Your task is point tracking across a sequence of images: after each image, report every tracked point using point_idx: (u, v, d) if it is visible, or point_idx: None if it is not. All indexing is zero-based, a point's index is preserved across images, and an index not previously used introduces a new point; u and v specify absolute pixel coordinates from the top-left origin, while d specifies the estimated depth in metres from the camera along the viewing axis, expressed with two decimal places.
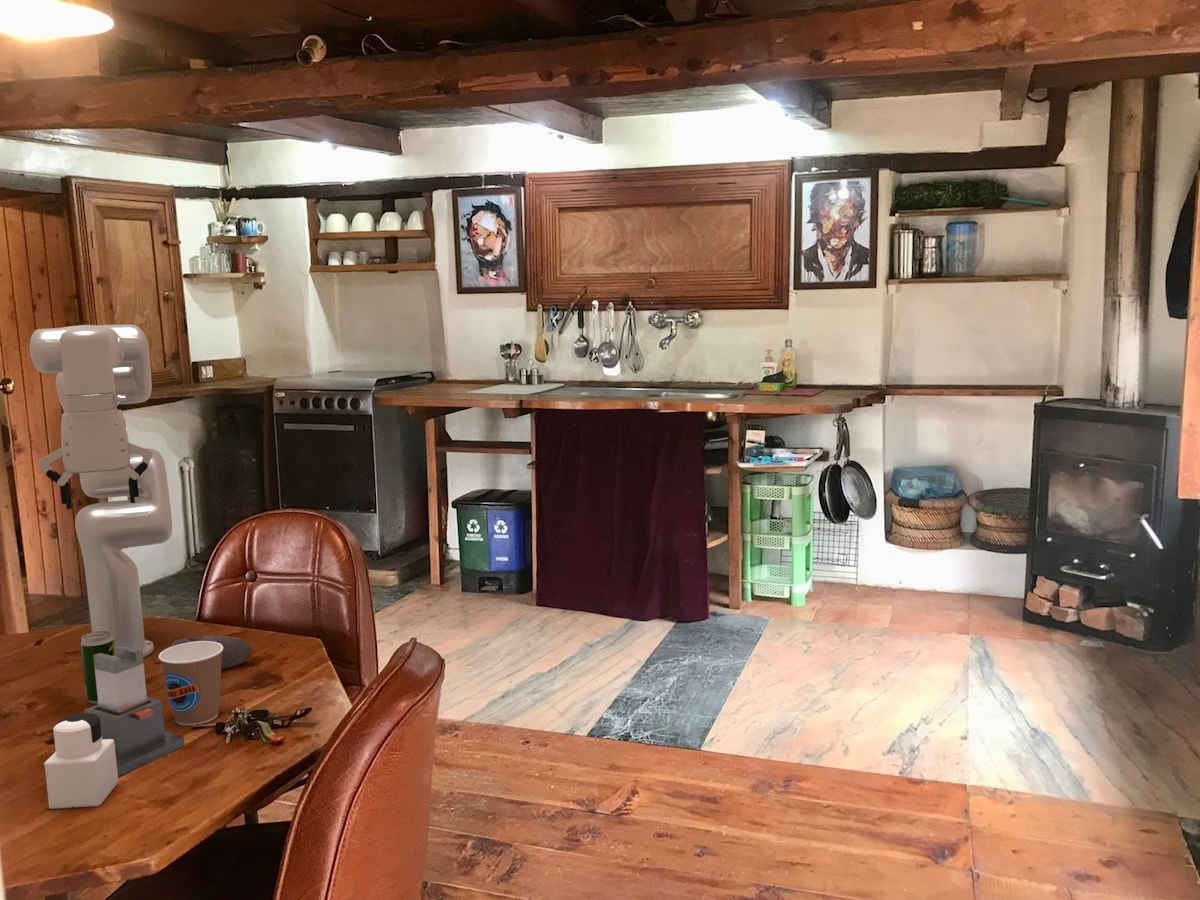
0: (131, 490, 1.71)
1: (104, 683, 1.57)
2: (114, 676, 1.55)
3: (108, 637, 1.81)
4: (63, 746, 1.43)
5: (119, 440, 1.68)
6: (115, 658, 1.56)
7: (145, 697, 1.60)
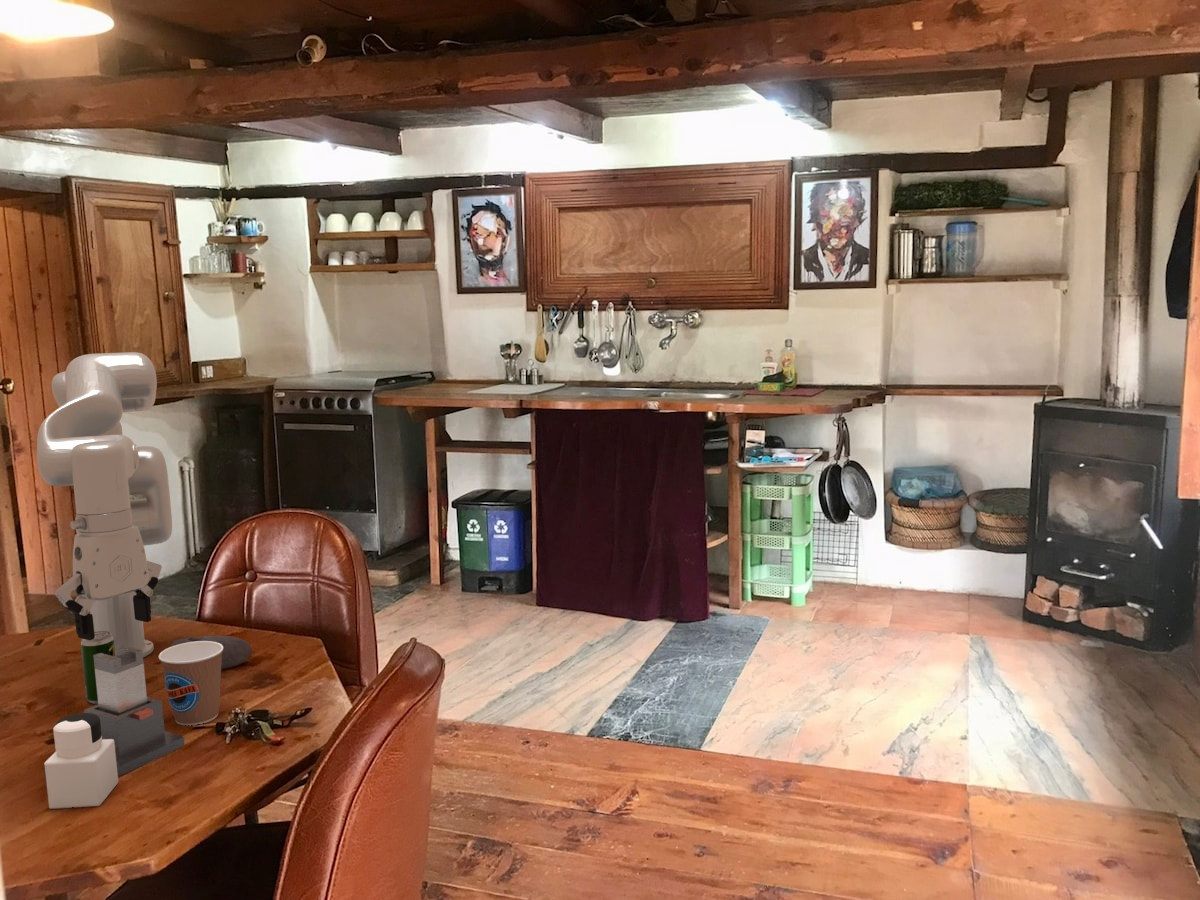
0: None
1: (104, 683, 1.57)
2: (114, 676, 1.55)
3: (108, 637, 1.81)
4: (63, 746, 1.43)
5: None
6: (115, 658, 1.56)
7: (145, 697, 1.60)
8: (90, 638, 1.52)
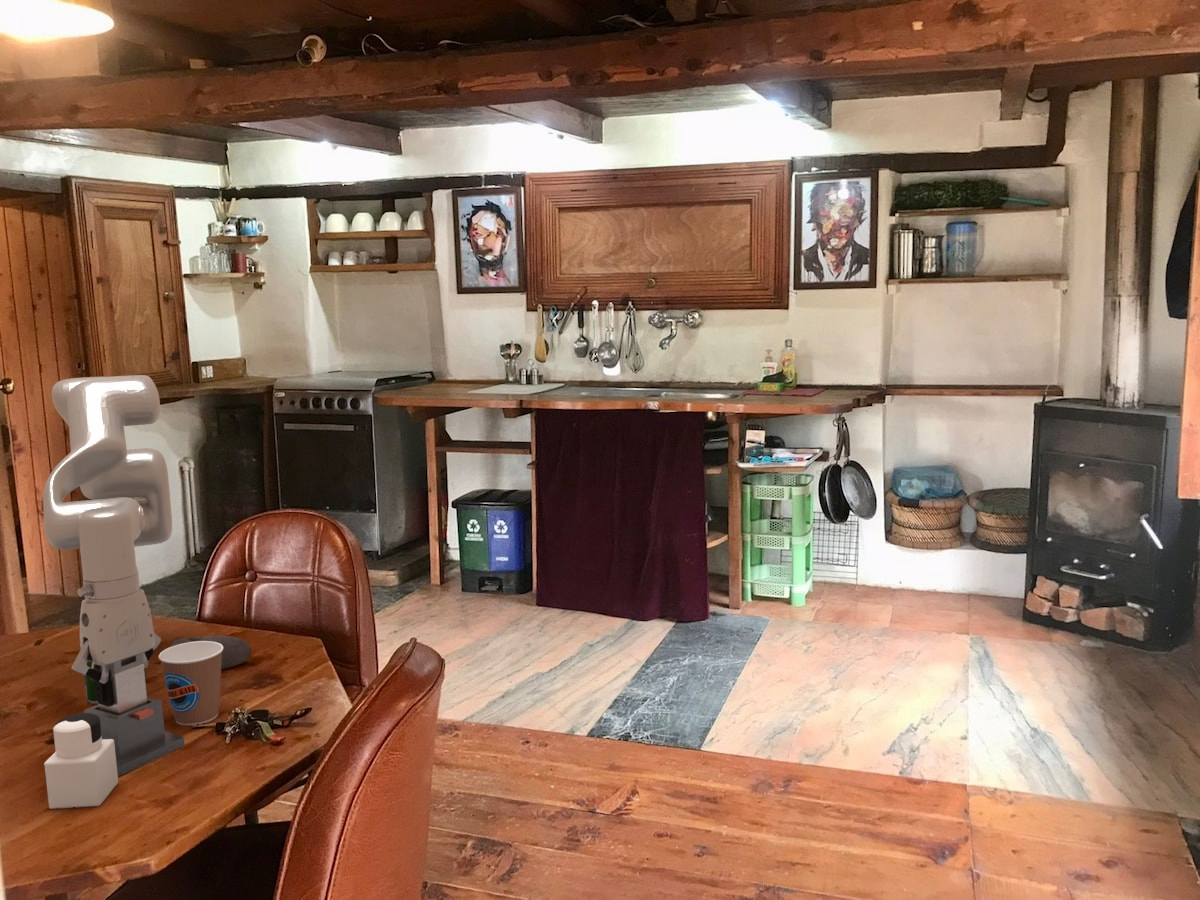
0: None
1: None
2: (114, 676, 1.55)
3: None
4: (63, 746, 1.43)
5: None
6: None
7: (145, 697, 1.60)
8: (109, 705, 1.56)
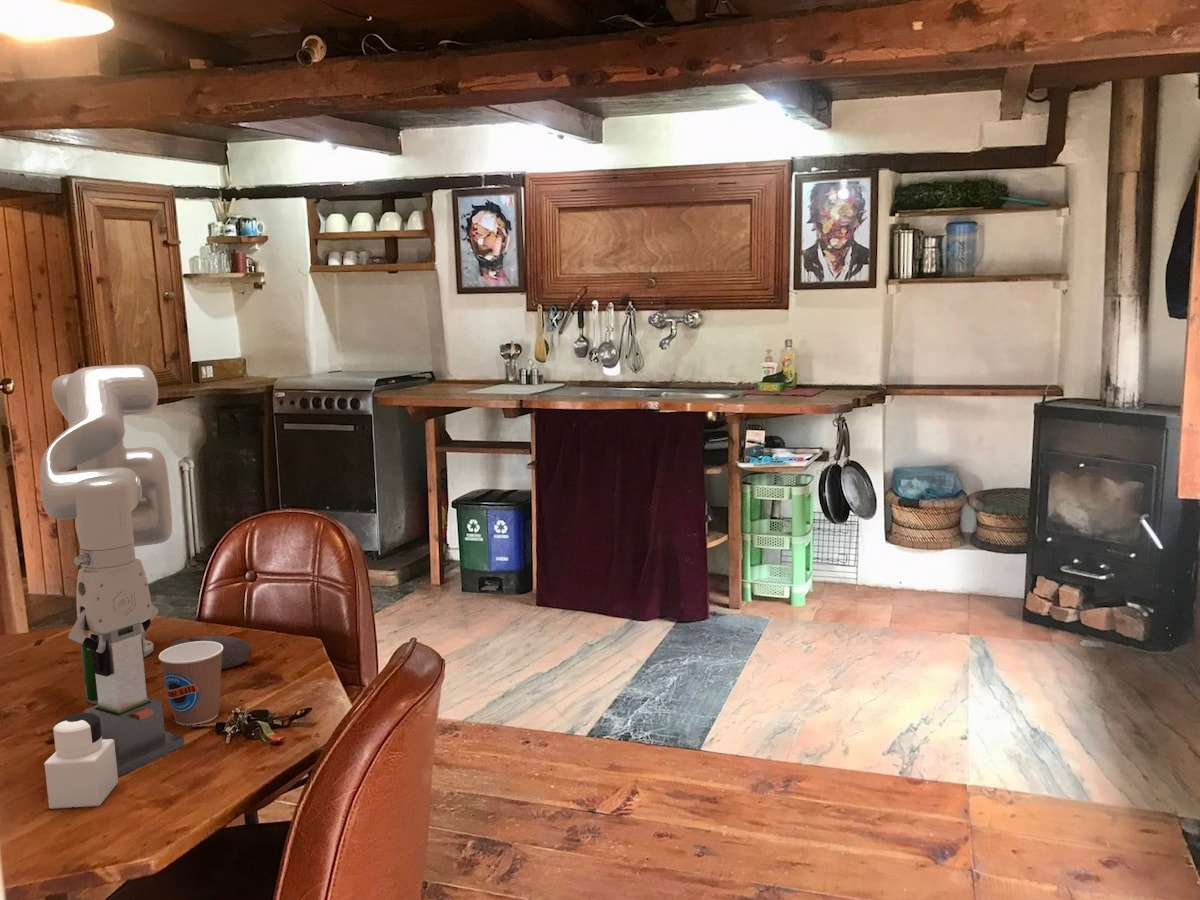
0: None
1: None
2: (111, 645, 1.55)
3: None
4: (63, 746, 1.43)
5: None
6: None
7: (143, 668, 1.60)
8: (106, 674, 1.55)
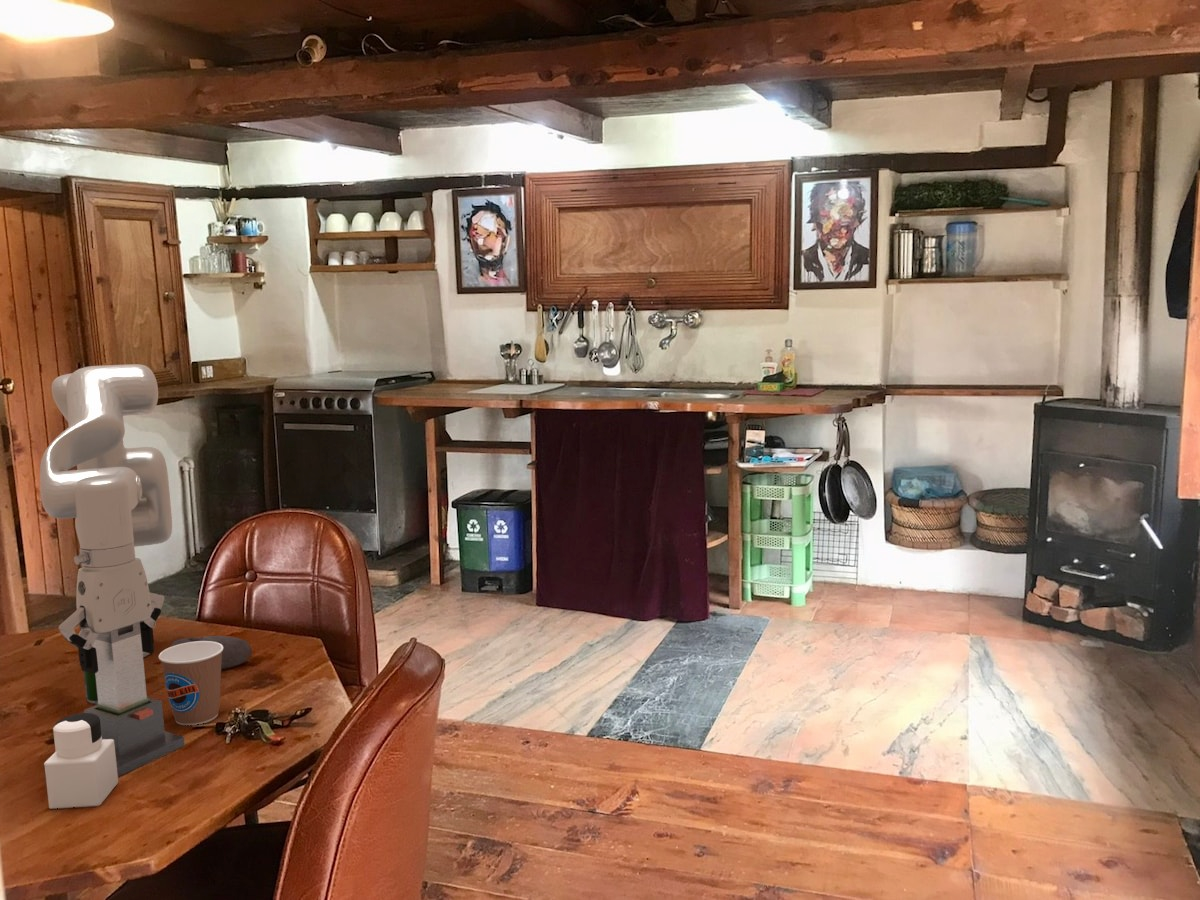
0: None
1: (101, 652, 1.56)
2: (111, 645, 1.55)
3: None
4: (63, 746, 1.43)
5: None
6: None
7: (143, 667, 1.60)
8: (94, 671, 1.53)
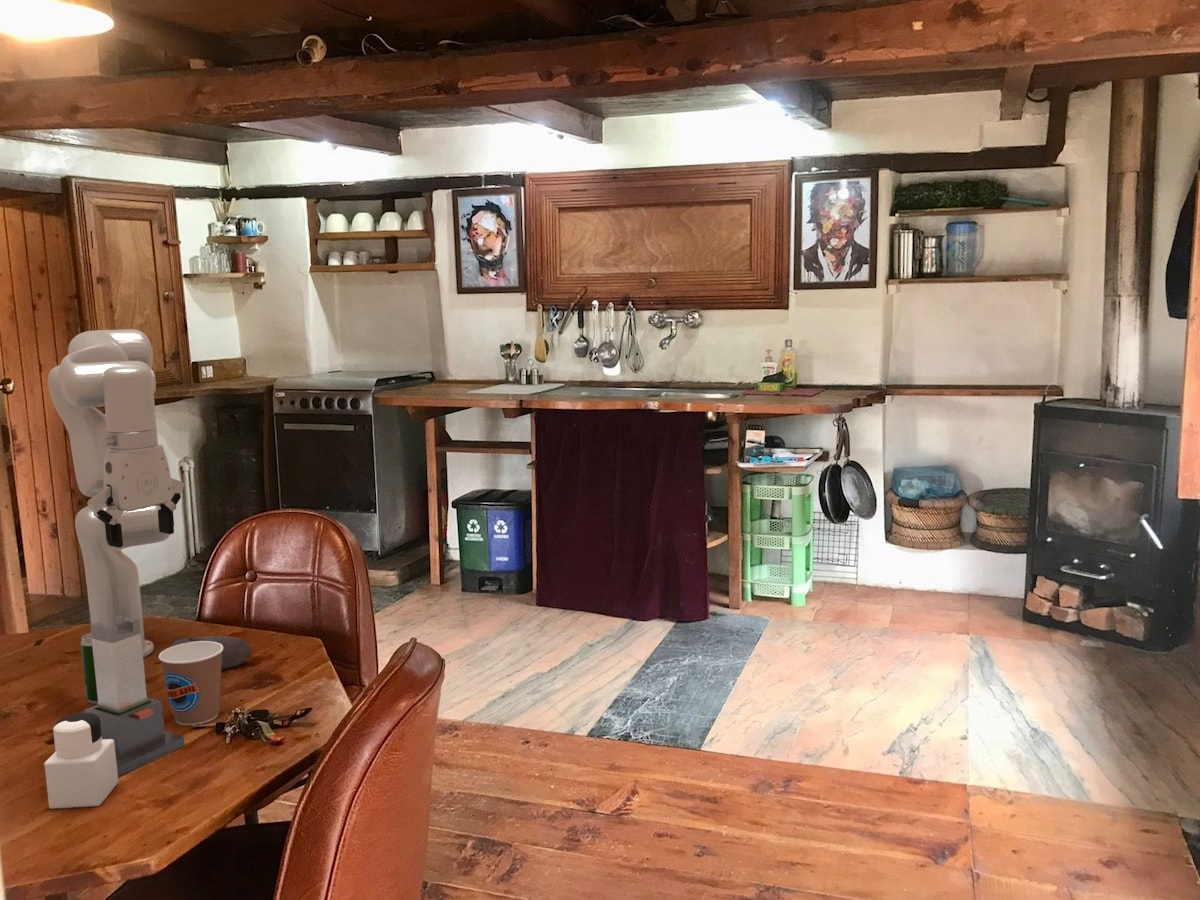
0: None
1: (101, 652, 1.56)
2: (111, 645, 1.55)
3: None
4: (63, 746, 1.43)
5: None
6: (112, 627, 1.55)
7: (143, 667, 1.60)
8: (119, 545, 1.66)
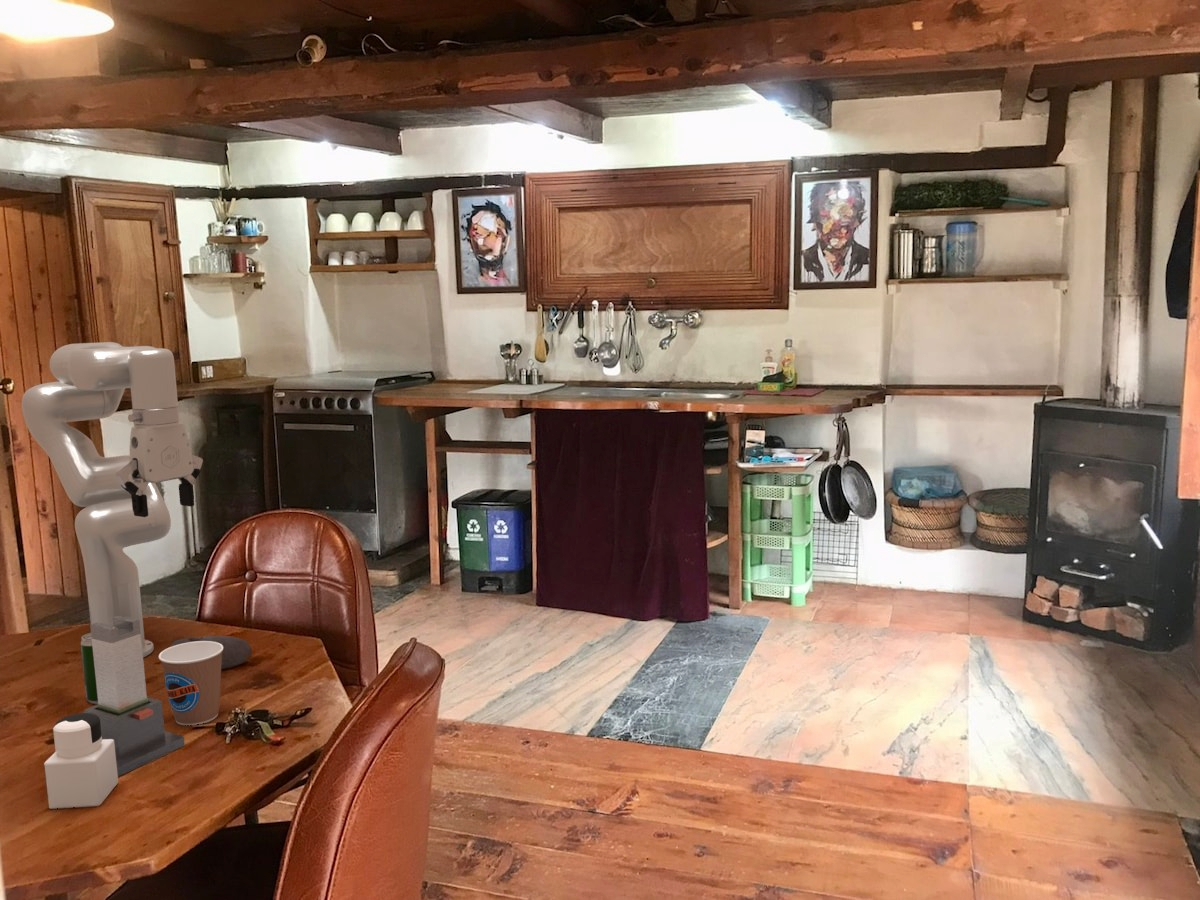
0: None
1: (101, 652, 1.56)
2: (111, 645, 1.55)
3: None
4: (63, 746, 1.43)
5: None
6: (112, 627, 1.55)
7: (143, 667, 1.60)
8: (144, 515, 1.79)
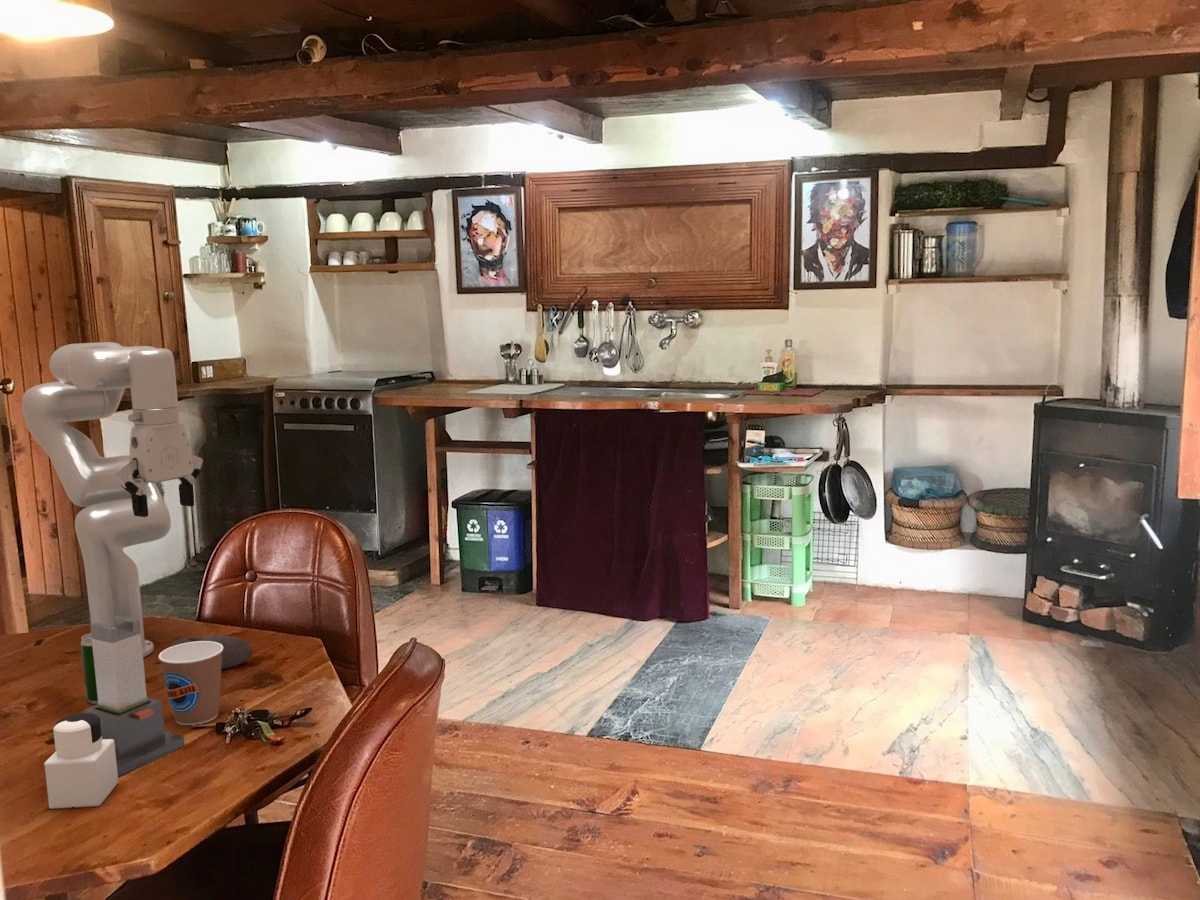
0: None
1: (101, 652, 1.56)
2: (111, 645, 1.55)
3: None
4: (63, 746, 1.43)
5: None
6: (112, 627, 1.55)
7: (143, 667, 1.60)
8: (144, 515, 1.79)
